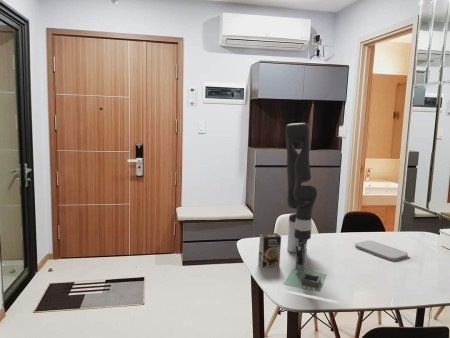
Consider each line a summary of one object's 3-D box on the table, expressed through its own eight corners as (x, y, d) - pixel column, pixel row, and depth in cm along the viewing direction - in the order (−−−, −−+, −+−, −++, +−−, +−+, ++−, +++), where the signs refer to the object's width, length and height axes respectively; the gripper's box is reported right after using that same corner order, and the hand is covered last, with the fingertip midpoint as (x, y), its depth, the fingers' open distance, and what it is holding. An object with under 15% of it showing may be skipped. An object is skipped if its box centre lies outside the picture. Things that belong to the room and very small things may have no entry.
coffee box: (262, 269, 176) (264, 237, 173) (257, 264, 182) (259, 233, 180) (279, 268, 178) (281, 236, 176) (274, 263, 184) (276, 232, 182)
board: (293, 270, 176) (293, 263, 176) (326, 276, 170) (327, 269, 169) (282, 286, 158) (283, 278, 157) (320, 294, 152) (320, 286, 151)
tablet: (369, 243, 222) (369, 239, 221) (410, 257, 200) (410, 253, 200) (352, 247, 213) (352, 243, 213) (392, 262, 191) (392, 258, 191)
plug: (297, 267, 173) (298, 246, 172) (305, 268, 172) (306, 247, 170) (295, 270, 170) (296, 248, 168) (303, 271, 168) (305, 250, 167)
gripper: (298, 222, 176) (296, 256, 178) (291, 230, 163) (289, 266, 165) (313, 224, 173) (311, 259, 175) (308, 233, 160) (306, 270, 162)
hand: (300, 262), depth 170 cm, fingers closed on plug, 4 cm apart
